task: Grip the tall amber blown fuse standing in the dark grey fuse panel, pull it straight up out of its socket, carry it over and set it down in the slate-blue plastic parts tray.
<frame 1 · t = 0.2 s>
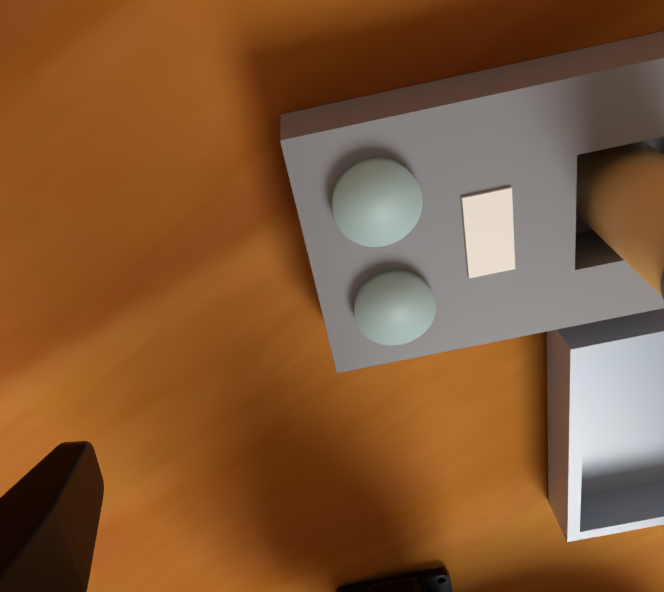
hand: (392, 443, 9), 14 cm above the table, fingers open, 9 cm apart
fuse panel: (491, 193, 23), on the table
parts tray: (663, 395, 29), on the table
blown fuse: (604, 176, 22), resting on fuse panel
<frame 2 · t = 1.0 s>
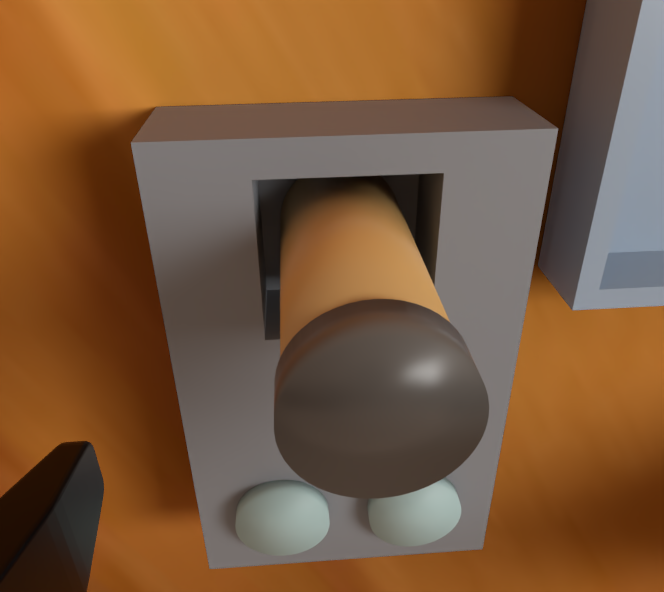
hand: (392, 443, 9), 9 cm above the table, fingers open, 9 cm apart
fuse panel: (338, 331, 19), on the table
blown fuse: (339, 219, 16), point 1 cm above the table, touching fuse panel
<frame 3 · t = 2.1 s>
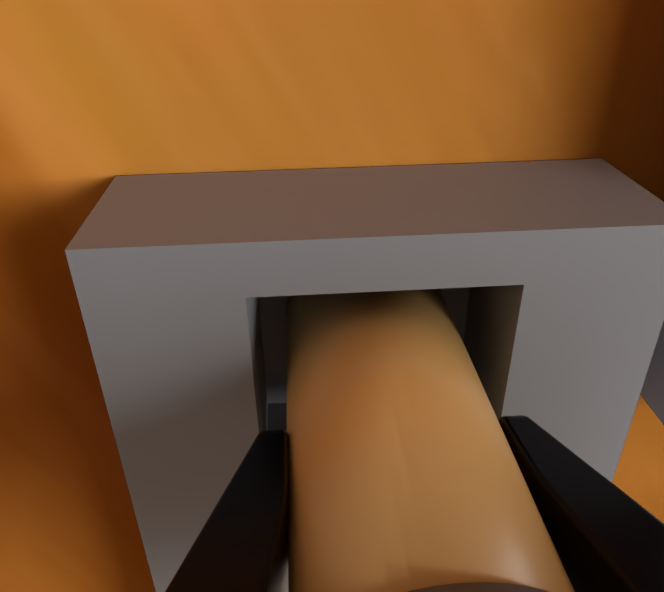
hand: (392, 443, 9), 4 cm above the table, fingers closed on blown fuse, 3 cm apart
fuse panel: (359, 444, 15), on the table
blown fuse: (364, 318, 12), point 1 cm above the table, touching fuse panel, gripper
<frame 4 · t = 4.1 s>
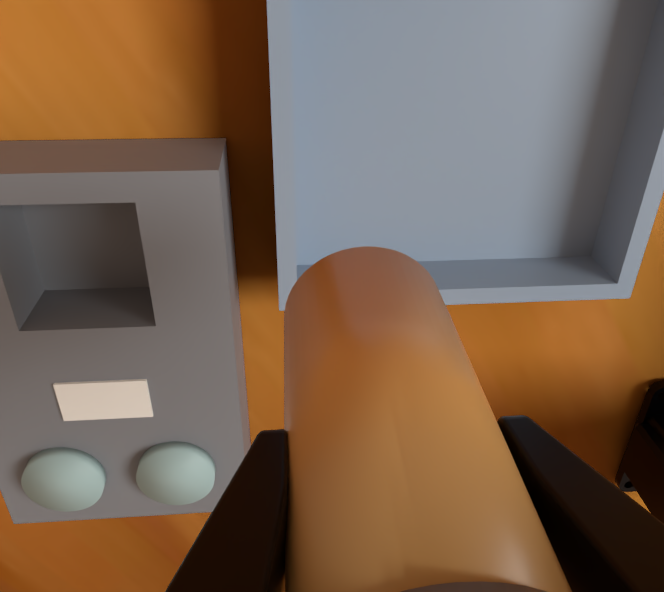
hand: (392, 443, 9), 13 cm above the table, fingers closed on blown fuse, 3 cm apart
fuse panel: (119, 325, 23), on the table
parts tray: (458, 119, 20), on the table
blown fuse: (363, 317, 12), point 9 cm above the table, touching gripper
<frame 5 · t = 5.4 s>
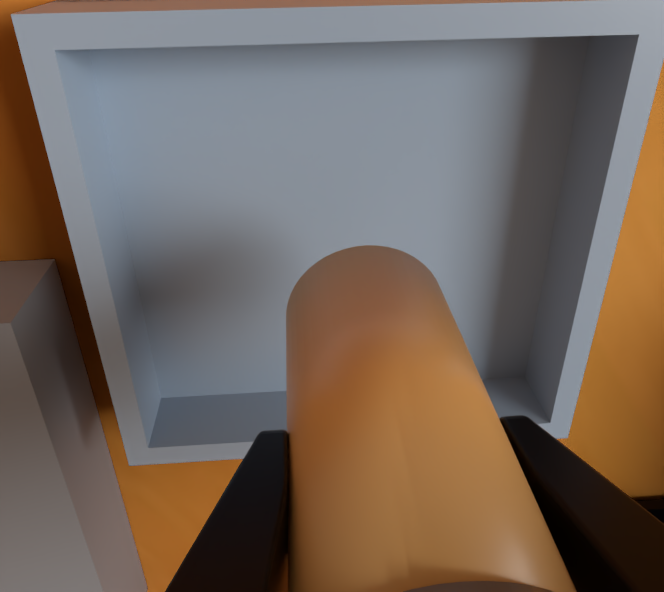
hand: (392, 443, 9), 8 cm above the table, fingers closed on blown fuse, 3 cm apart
parts tray: (343, 228, 16), on the table
blown fuse: (365, 316, 12), point 4 cm above the table, touching gripper
when the fingers open (5 cm above the table, at t = 6.2 s): blown fuse stays where it is, resting on parts tray.
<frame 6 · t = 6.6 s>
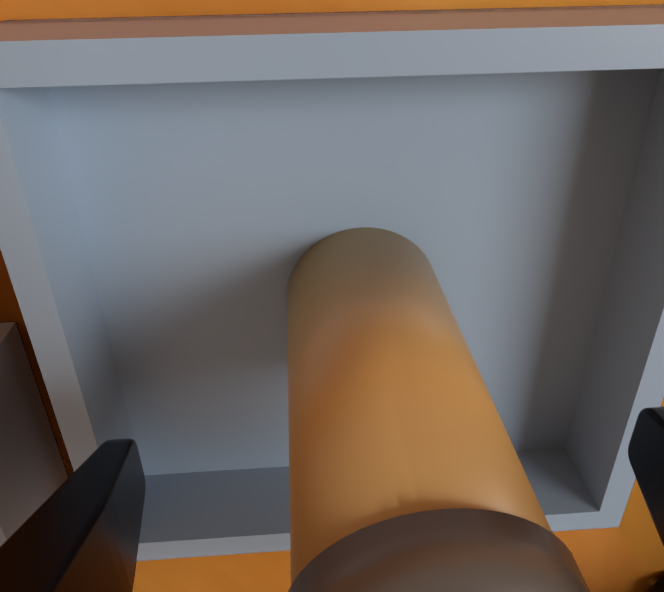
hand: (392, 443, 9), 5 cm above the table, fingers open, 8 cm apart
parts tray: (357, 285, 13), on the table
blown fuse: (361, 295, 13), resting on parts tray
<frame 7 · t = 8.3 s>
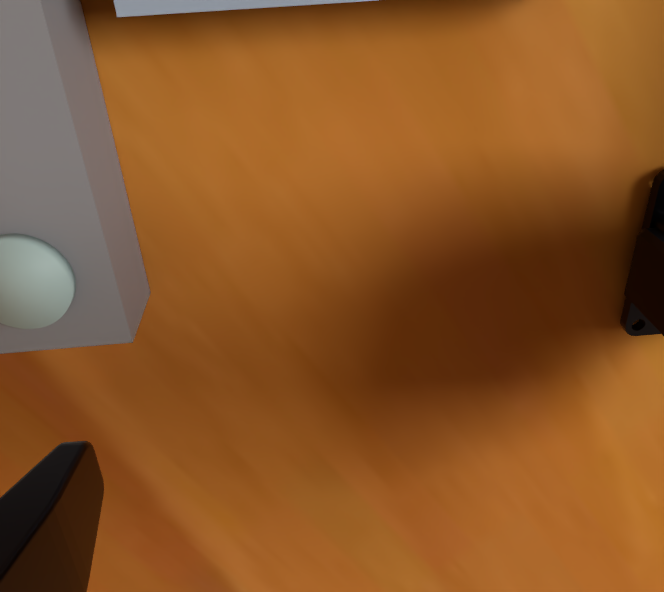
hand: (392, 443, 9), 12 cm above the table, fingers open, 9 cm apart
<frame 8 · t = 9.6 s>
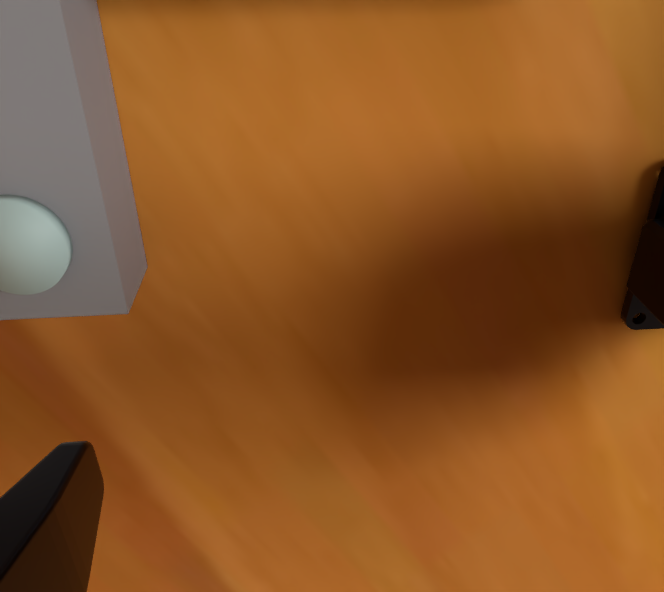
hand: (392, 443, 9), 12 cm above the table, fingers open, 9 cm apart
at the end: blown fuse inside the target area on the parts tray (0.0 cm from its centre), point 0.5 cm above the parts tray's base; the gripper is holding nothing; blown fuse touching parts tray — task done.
